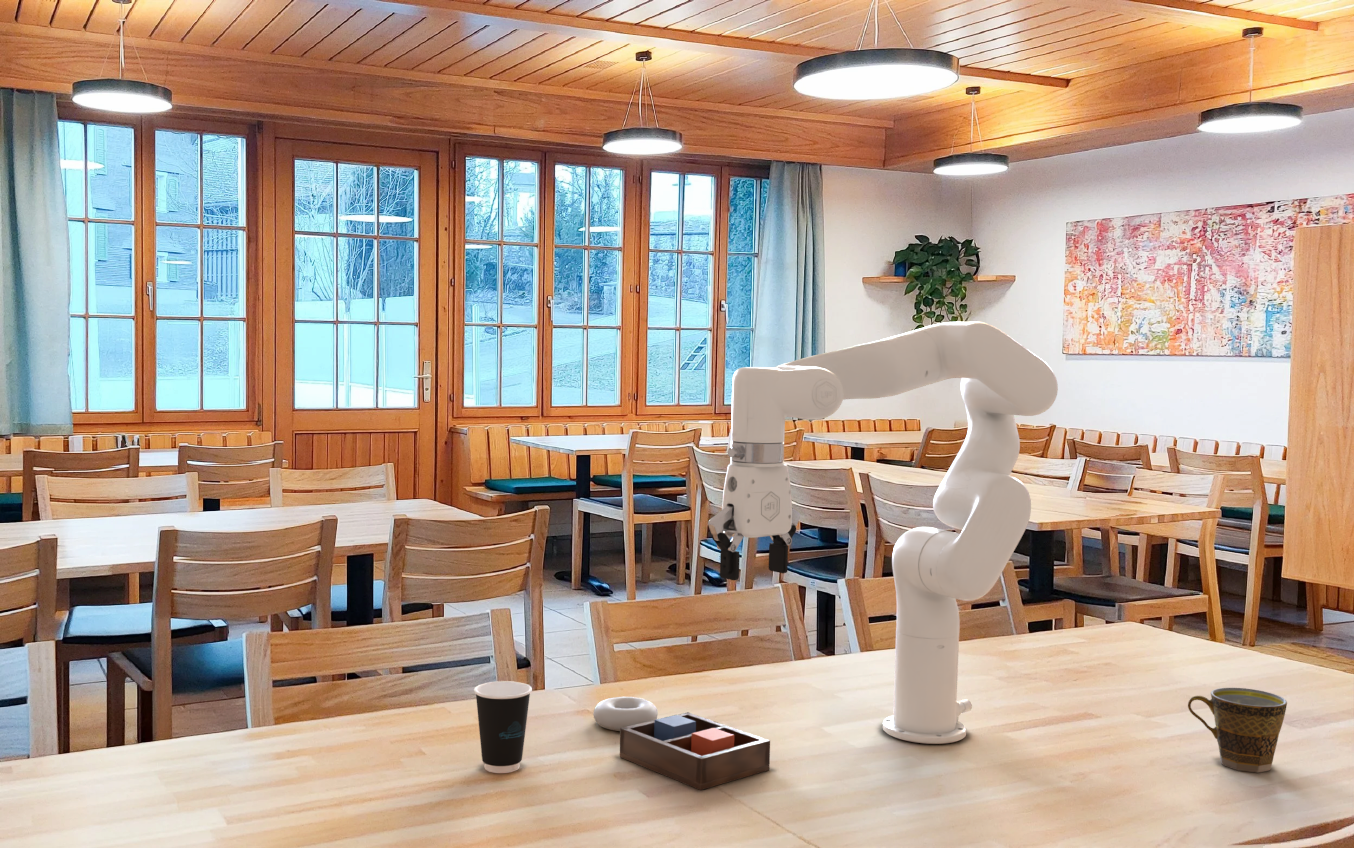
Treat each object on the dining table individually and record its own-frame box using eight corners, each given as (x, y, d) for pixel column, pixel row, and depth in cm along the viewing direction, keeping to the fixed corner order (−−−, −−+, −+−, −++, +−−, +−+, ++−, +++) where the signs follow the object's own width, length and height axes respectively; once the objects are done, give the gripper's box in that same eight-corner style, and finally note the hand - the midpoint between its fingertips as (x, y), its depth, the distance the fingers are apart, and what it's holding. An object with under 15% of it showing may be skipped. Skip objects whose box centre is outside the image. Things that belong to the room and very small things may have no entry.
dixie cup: (516, 779, 166) (517, 698, 165) (462, 772, 168) (463, 692, 168) (540, 761, 174) (541, 684, 173) (488, 755, 176) (489, 678, 175)
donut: (585, 732, 188) (650, 736, 186) (585, 709, 188) (650, 713, 186) (602, 713, 198) (664, 717, 196) (602, 692, 198) (664, 695, 196)
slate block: (675, 742, 180) (676, 714, 180) (695, 750, 177) (696, 721, 177) (653, 748, 177) (654, 719, 177) (673, 756, 174) (673, 726, 174)
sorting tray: (687, 739, 185) (688, 711, 185) (769, 769, 172) (770, 740, 172) (619, 757, 176) (620, 727, 176) (700, 790, 164) (701, 758, 164)
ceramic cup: (1278, 758, 182) (1282, 691, 182) (1288, 780, 173) (1291, 709, 172) (1183, 747, 187) (1186, 682, 186) (1187, 768, 177) (1190, 699, 177)
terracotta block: (712, 756, 174) (713, 727, 174) (733, 764, 171) (734, 734, 171) (690, 762, 172) (691, 732, 171) (711, 771, 168) (712, 740, 168)
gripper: (731, 459, 166) (728, 586, 167) (818, 454, 178) (815, 573, 179) (693, 455, 172) (691, 577, 173) (780, 450, 184) (777, 565, 185)
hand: (754, 575), depth 176 cm, fingers open, 9 cm apart
